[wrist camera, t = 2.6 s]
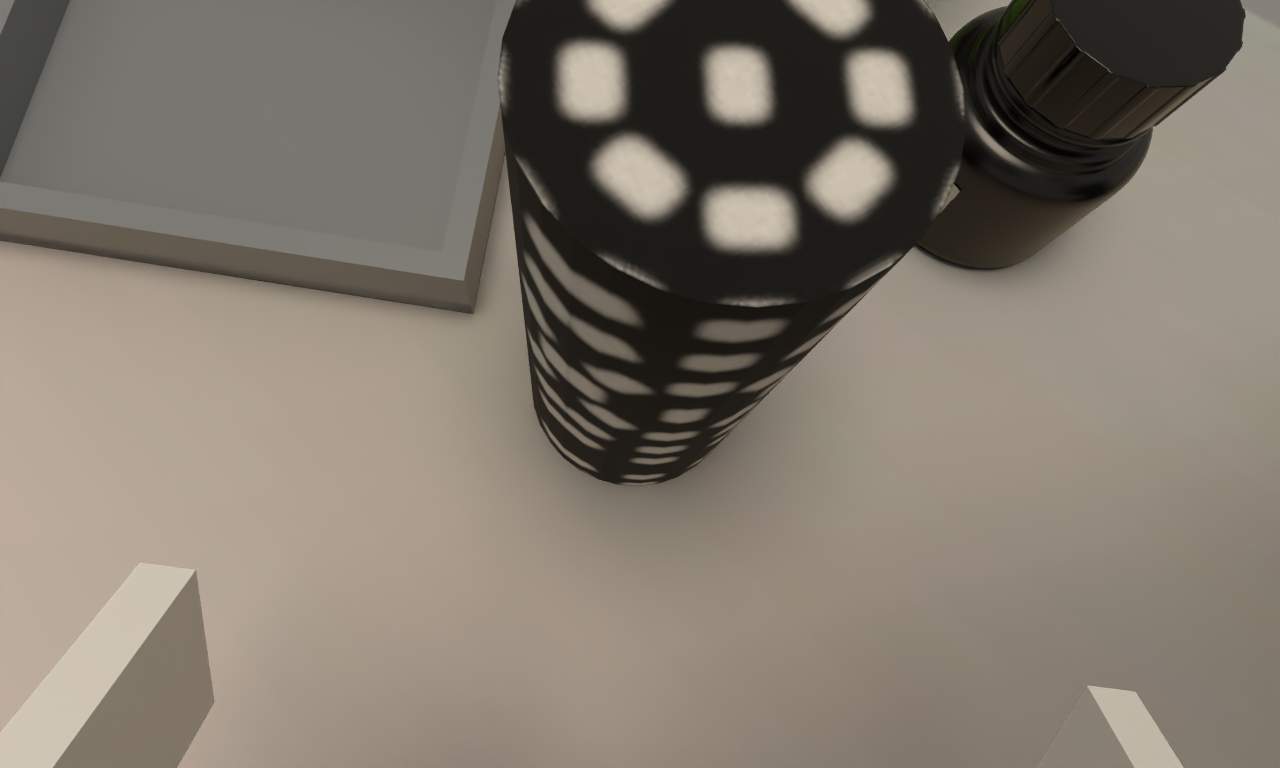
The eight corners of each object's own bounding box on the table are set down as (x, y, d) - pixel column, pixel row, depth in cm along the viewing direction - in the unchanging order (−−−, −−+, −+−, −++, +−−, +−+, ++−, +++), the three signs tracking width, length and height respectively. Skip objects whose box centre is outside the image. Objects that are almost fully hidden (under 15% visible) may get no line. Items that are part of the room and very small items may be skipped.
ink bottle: (908, 66, 39) (1055, -161, 27) (1078, 137, 39) (1297, -60, 27) (844, 233, 36) (979, 59, 25) (1027, 311, 36) (1247, 172, 25)
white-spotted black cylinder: (531, 291, 34) (497, -118, 15) (725, 290, 35) (931, -96, 16) (532, 489, 32) (496, 309, 13) (740, 482, 33) (1000, 305, 14)
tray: (536, -4, 38) (534, -64, 35) (473, 313, 34) (463, 280, 30) (97, -83, 37) (51, -153, 33) (-29, 235, 32) (-96, 192, 29)
